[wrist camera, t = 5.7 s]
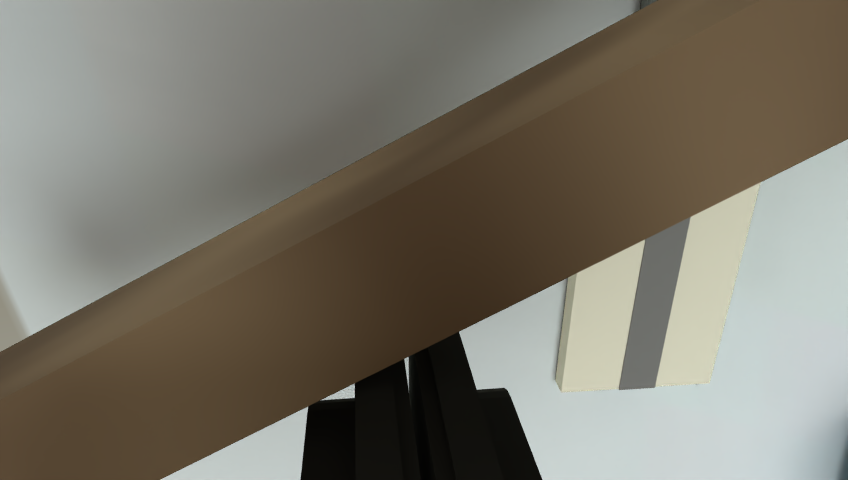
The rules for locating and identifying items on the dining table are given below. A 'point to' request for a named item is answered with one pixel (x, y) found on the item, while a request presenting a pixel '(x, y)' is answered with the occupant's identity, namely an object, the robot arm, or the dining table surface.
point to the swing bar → (429, 236)
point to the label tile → (655, 305)
